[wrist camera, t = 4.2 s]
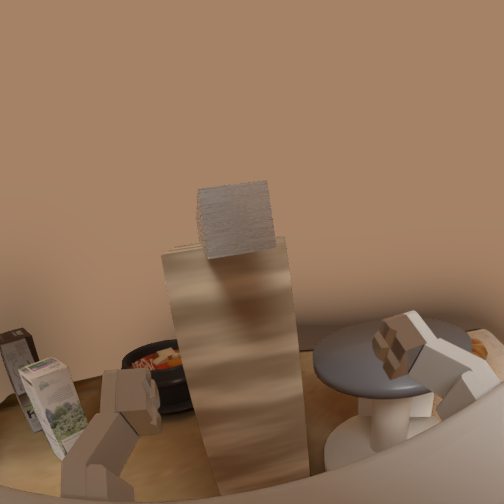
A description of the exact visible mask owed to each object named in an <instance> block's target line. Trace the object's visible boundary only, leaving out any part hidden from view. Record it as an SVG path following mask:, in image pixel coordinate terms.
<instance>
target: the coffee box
mask: <svg viewBox="0 0 504 504" xmlns="http://www.w3.org/2000/svg"><path fill="white" fill-rule="evenodd" d="M0 352H1V356H2V359H3V362H4V365H5V368H6V371H7V373H8V376H9V379H10V382H11V384H12V387H13V389H14V392H15V394H16V397H17V399H18V401H19V404H20V406H21V408H22V410H23V413H24V415H25V417H26V419H27V421H28V422H29V424H30V426H31V428H32V430H33V431H34V432H37V431H40V430H42V428H41V426H40V424H39V421H38V419H37V417H36V415H35V413H34V410H33V408H32V405H31V403H30V401H29V398H28V396H27V393H26V391H25V388H24V385H23V383H22V380H21V377H20V374H19V371H18V369H19V368H22V367H25V366H27V365H30V364H33V363H35V362H38V361H39V358H38V355H37V352H36V348H35V345H34V342H33V338H32V335H30V334H29V333H28V332H27V331H26V330H25V329H24V328H20V329H15V330H12V331H8V332H5V333H3V334H0Z"/></svg>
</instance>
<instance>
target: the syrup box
mask: <svg viewBox="0 0 504 504" xmlns="http://www.w3.org/2000/svg"><path fill="white" fill-rule="evenodd" d="M18 371H19V374H20V377H21V380H22V383H23V385H24V388H25V391H26V393H27V396H28V398H29V401H30V403H31V405H32V408H33V410H34V413H35V415H36V417H37V419H38V421H39V424H40V426H41V428H42V430H43V432H44V434H45V436H46V438H47V441H48V443H49V445H50V446H51V448H52V450H53V452H54V454H55V455H56V456H57V457H58V458H59V459H60V460H61V461H62V460H63V459H64V457H65V456H66V455H67V453H68V452H69V450H70V449H71V447H72V446H73V445H74V443H75V442H76V440H77V439H78V438H79V436H80V435H81V433H82V432H83V431H84V429H85V428H86V426H87V425H88V424H89V423H88V421H87V419H86V416H85V414H84V411H83V408H82V406H81V403H80V400H79V398H78V395H77V392H76V389H75V386H74V383H73V380H72V377H71V374H70V371H69V368H68V366H66V365H65V364H63V363H62V362H61V361H59V360H57V359H55V358H52V357H49V358H46V359H44V360H41V361H38V362H35V363H33V364H30V365H27V366H25V367H22V368H19V369H18Z"/></svg>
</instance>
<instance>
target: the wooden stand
mask: <svg viewBox="0 0 504 504" xmlns="http://www.w3.org/2000/svg"><path fill="white" fill-rule="evenodd" d="M275 240H276V247H277V249H271V250H264V251H258V252H252V253H245V254H239V255H232V256H226V257H220V258H213V259H208V258H207V256H206V254H205V252H204V251H203V249H202V247H201V245H200V243H198V244H190V245H184V246H178V247H174V248H173V249H171V250H170V251H168V252H166V253H165V254H163V255H162V256H161V258H162V264H163V270H164V276H165V281H166V287H167V292H168V298H169V303H170V308H171V313H172V318H173V323H174V328H175V333H176V337H177V342H178V346H179V351H180V355H181V360H182V364H183V368H184V372H185V376H186V380H187V384H188V388H189V392H190V396H191V400H192V404H193V407H194V411H195V415H196V418H197V422H198V425H199V429H200V432H201V436H202V439H203V443H204V446H205V449H206V452H207V456H208V459H209V462H210V465H211V468H212V471H213V474H214V477H215V480H216V483H217V486H218V489H219V492H220V495H221V496H225V495H232V494H238V493H243V492H249V491H254V490H259V489H264V488H268V487H273V486H277V485H281V484H285V483H289V482H293V481H297V480H300V479H304V478H307V477H310V470H309V456H308V443H307V431H306V419H305V408H304V397H303V386H302V376H301V366H300V356H299V347H298V338H297V329H296V321H295V311H294V304H293V295H292V287H291V279H290V271H289V263H288V255H287V248H286V241H285V237H275Z"/></svg>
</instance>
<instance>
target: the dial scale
mask: <svg viewBox="0 0 504 504" xmlns="http://www.w3.org/2000/svg"><path fill="white" fill-rule="evenodd" d="M381 320H383V319H381ZM381 320H374V321H369V322H364V323H360V324H356V325H353V326H349V327H347V328H344V329H341V330H339V331H336V332H335V333H332V334H330V335H329V336H327V337H326V338H324V339H323V340H322V341H320V343H319V344H318V345H317V346H316V347H315V349H314V352H313V366H314V371H315V373H316V375H317V377H318V378H319V379H320V380H321V381H322V382H323V383H324V384H326V385H327V386H329V387H331V388H333V389H335V390H336V391H339V392H342V393H345V394H348V395H352V396H356V397H358V415H356V416H354V417H352V418H350V419H348V420H346V421H344V422H343V423H341V424H340V425H339V426H338V427H336V428H335V429H334V430H333V431H332V433H331V434H330V435H329V437H328V438H327V441H326V443H325V447H324V465H325V472H327V471H330V470H333V469H336V468H339V467H342V466H345V465H347V464H350V463H353V462H356V461H358V460H361V459H363V458H366V457H368V456H371V455H373V454H376V453H378V452H380V451H383V450H385V449H387V448H390V447H392V446H394V445H396V444H399V443H401V442H403V441H405V440H407V439H409V438H411V437H413V436H415V435H417V434H419V433H421V432H423V431H425V430H427V429H429V428H431V427H432V426H434V425H436V424H438V423H440V421H439V420H438V419H437V418H435V417H434V416H432V415H431V412H432V405H433V397H434V392H432V391H431V390H429V389H428V388H426V387H425V386H423V385H422V384H420V383H419V382H417V381H416V380H414V379H413V378H411V377H410V376H409V375H408V374H407V375H404V376H401V377H398V378H396V379H393V380H390V379H389V378H388V376H387V374H386V373H385V371H384V369H383V368H382V367H383V361H381V360H379V359H377V357H376V356H375V354H374V351H373V348H372V340H373V336H374V335H375V334H376V333H377V332H378V331H379V330H378V329H377V325H378V323H379V322H380V321H381ZM422 320H423V321H424V322H425V323H426V325H427V326H428V327H429V329H430V330H431V331H432V332H433V334H434V335H435V336H436V338H437V339H439V338H441V339H443V340H445V341H447V342H449V343H451V344H453V345H455V346H457V347H459V348H461V349H463V350H465V351H468V352H470V353H472V341H471V339H470V337H469V335H468V334H467V333H466V332H465V331H464V330H462V329H461V328H459V327H457V326H455V325H453V324H450V323H447V322H444V321H440V320H434V319H427V318H422Z"/></svg>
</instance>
